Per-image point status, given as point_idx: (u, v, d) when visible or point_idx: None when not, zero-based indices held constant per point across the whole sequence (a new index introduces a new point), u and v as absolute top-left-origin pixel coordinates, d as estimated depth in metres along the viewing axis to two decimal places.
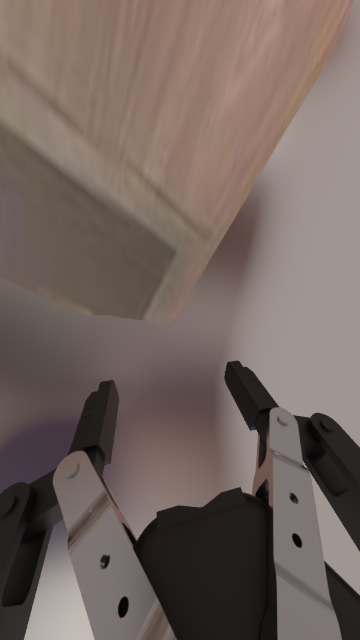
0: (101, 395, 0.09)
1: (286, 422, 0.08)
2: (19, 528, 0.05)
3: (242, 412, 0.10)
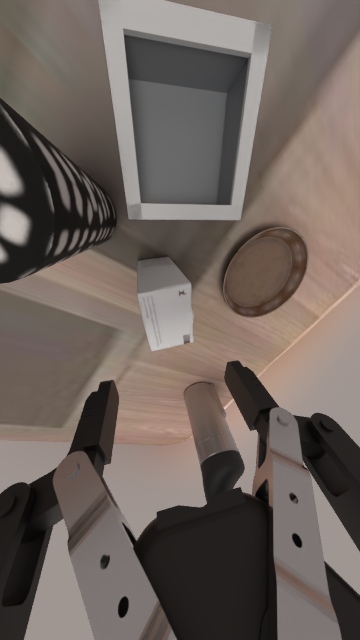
0: (101, 395, 0.09)
1: (286, 422, 0.08)
2: (19, 528, 0.05)
3: (242, 412, 0.10)
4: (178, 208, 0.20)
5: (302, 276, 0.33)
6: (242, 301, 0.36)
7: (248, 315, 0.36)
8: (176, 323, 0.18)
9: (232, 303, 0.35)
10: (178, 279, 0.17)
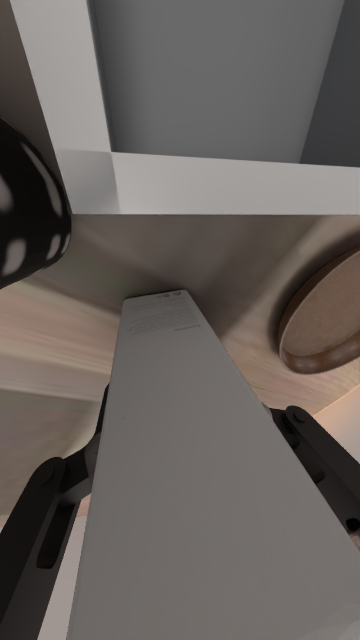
0: None
1: None
2: (54, 499, 0.06)
3: None
4: (241, 176, 0.06)
5: None
6: (298, 348, 0.22)
7: (308, 371, 0.22)
8: None
9: (285, 353, 0.21)
10: (276, 491, 0.04)
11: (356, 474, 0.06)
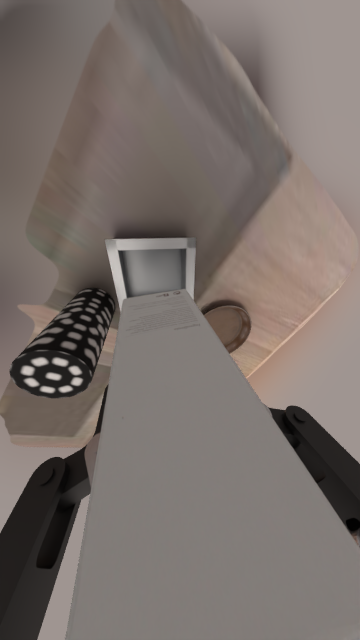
0: None
1: None
2: (54, 499, 0.06)
3: None
4: None
5: (249, 330, 0.46)
6: None
7: None
8: None
9: None
10: (277, 491, 0.04)
11: (356, 474, 0.06)
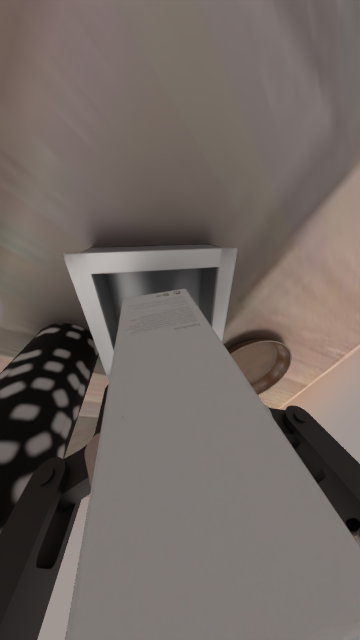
0: None
1: None
2: (54, 499, 0.06)
3: None
4: None
5: (286, 368, 0.34)
6: None
7: None
8: None
9: None
10: (277, 490, 0.04)
11: (356, 474, 0.06)
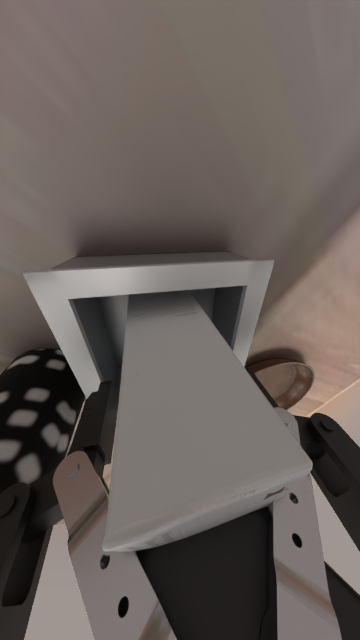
0: (101, 395, 0.09)
1: (286, 422, 0.08)
2: (19, 528, 0.05)
3: None
4: None
5: (307, 389, 0.29)
6: None
7: None
8: None
9: None
10: (247, 413, 0.05)
11: None
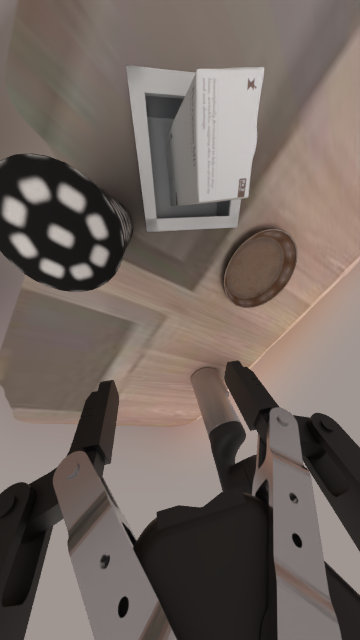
0: (101, 395, 0.09)
1: (286, 422, 0.08)
2: (19, 528, 0.05)
3: (242, 412, 0.10)
4: (186, 221, 0.24)
5: (292, 270, 0.38)
6: (240, 294, 0.41)
7: (246, 306, 0.41)
8: (235, 150, 0.14)
9: (232, 295, 0.40)
10: None
11: None
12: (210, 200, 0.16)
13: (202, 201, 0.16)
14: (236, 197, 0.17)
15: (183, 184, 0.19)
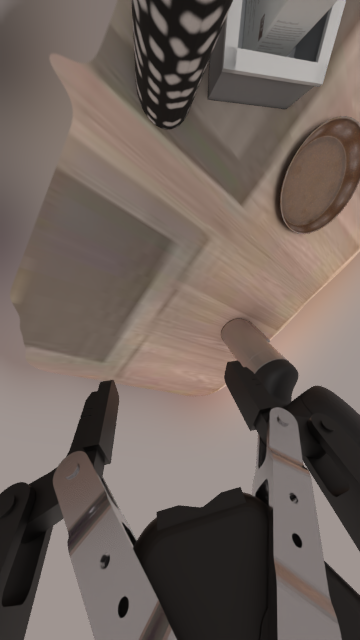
0: (101, 395, 0.09)
1: (286, 422, 0.08)
2: (19, 528, 0.05)
3: (242, 412, 0.10)
4: (269, 60, 0.20)
5: (355, 185, 0.33)
6: (292, 217, 0.36)
7: (298, 231, 0.36)
8: None
9: (283, 217, 0.35)
10: None
11: None
12: None
13: None
14: None
15: None
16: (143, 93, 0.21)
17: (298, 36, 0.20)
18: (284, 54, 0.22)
